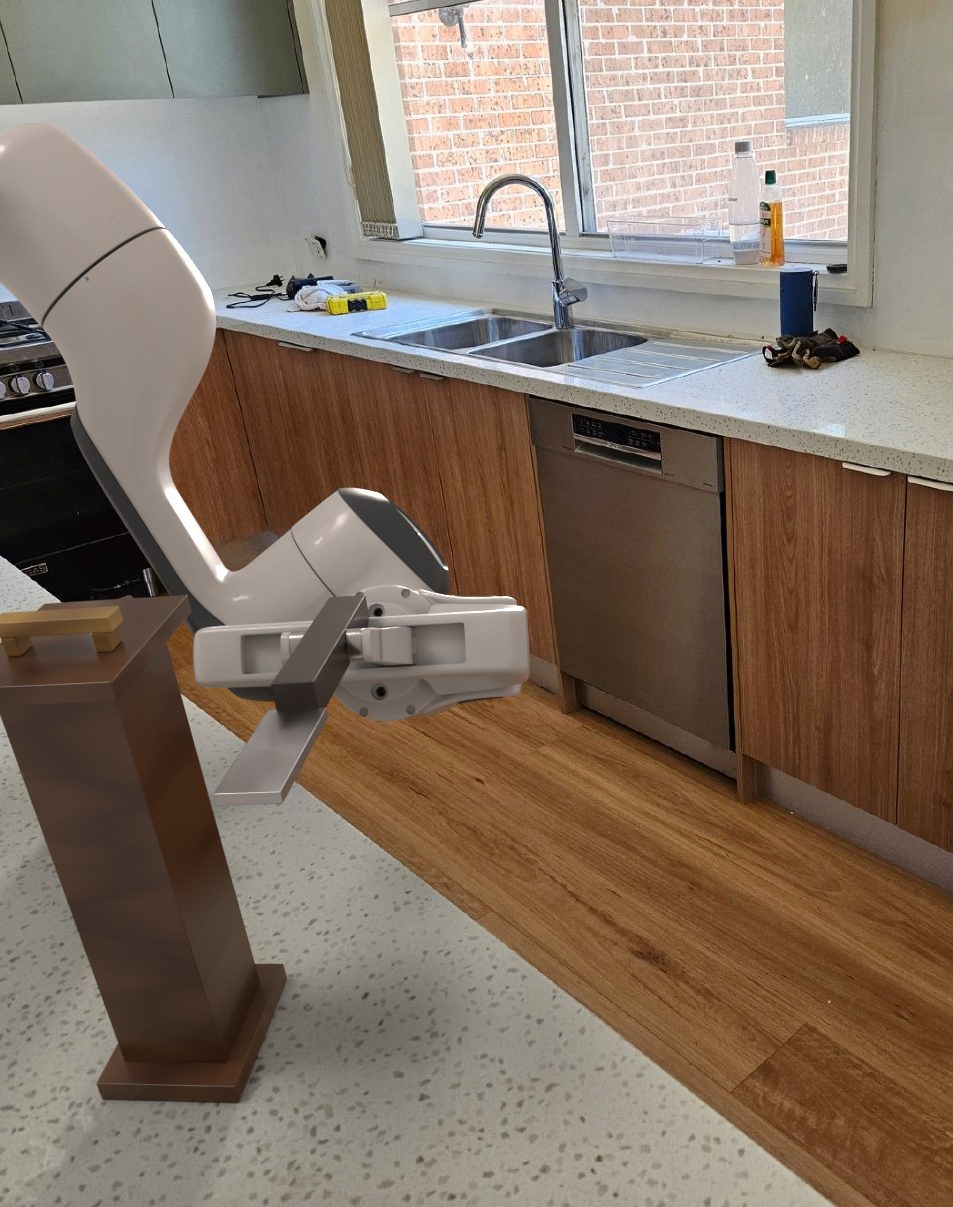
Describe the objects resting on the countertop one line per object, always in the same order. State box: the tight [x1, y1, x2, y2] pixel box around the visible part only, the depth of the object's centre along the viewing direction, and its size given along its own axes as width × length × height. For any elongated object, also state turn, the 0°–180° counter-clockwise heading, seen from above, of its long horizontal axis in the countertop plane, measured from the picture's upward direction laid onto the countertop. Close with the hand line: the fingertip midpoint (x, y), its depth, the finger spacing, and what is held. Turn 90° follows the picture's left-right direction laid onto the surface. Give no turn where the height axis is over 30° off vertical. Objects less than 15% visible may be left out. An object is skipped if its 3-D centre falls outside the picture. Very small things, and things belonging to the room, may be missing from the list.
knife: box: [213, 595, 369, 806], centre depth 54 cm, size 3×18×2 cm, turn 173°
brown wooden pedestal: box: [0, 595, 288, 1103], centre depth 56 cm, size 8×9×28 cm
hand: (325, 646), depth 57 cm, fingers closed on knife, 2 cm apart
